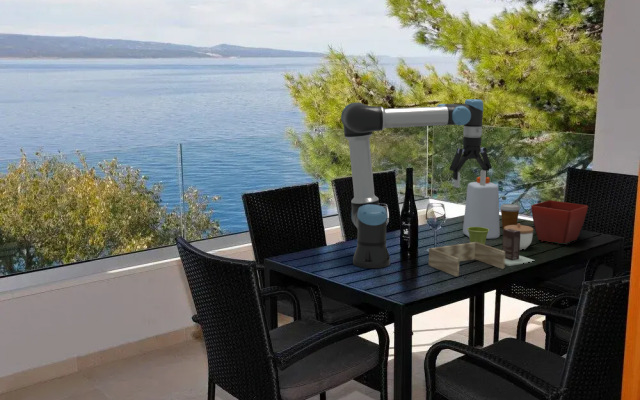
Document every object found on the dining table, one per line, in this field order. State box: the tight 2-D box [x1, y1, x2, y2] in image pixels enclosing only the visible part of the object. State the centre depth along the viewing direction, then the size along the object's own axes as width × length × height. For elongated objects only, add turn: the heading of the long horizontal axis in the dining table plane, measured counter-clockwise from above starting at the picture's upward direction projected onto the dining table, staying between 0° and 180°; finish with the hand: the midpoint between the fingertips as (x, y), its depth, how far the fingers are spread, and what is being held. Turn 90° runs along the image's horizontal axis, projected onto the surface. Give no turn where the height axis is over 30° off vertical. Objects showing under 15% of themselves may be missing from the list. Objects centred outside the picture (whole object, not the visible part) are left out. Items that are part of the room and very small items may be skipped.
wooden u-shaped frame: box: [428, 242, 506, 277], centre depth 295 cm, size 24×18×7 cm
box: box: [501, 229, 521, 260], centre depth 305 cm, size 6×4×12 cm
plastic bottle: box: [462, 176, 501, 240], centre depth 347 cm, size 15×15×28 cm
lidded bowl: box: [504, 222, 535, 251], centre depth 325 cm, size 13×13×11 cm
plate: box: [505, 254, 536, 267], centre depth 306 cm, size 14×14×1 cm
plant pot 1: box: [467, 227, 489, 245], centre depth 325 cm, size 9×9×9 cm
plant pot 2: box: [531, 199, 589, 243], centre depth 337 cm, size 19×19×17 cm
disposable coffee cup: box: [499, 203, 521, 231], centre depth 361 cm, size 10×10×12 cm
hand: (469, 186), depth 313 cm, fingers open, 13 cm apart
